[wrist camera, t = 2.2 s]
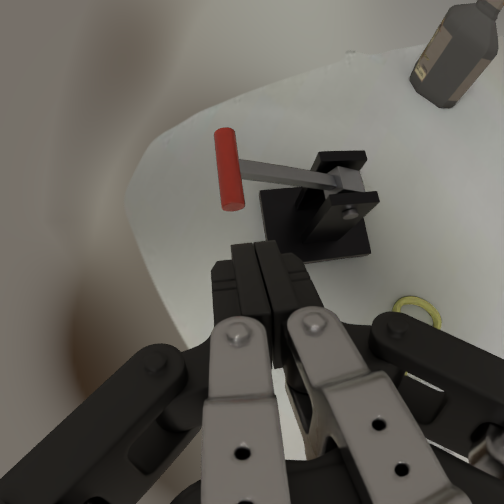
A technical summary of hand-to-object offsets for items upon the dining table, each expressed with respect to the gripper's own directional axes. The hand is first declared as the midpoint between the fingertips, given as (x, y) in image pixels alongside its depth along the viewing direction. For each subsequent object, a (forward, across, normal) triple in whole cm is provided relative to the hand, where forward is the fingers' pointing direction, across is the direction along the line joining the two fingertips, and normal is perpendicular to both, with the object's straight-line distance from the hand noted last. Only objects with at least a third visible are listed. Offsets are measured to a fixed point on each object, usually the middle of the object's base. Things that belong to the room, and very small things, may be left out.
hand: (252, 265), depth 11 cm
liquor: (+41, -38, -6) cm, 56 cm away
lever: (+15, -5, +3) cm, 16 cm away
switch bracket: (+24, -10, +11) cm, 28 cm away
